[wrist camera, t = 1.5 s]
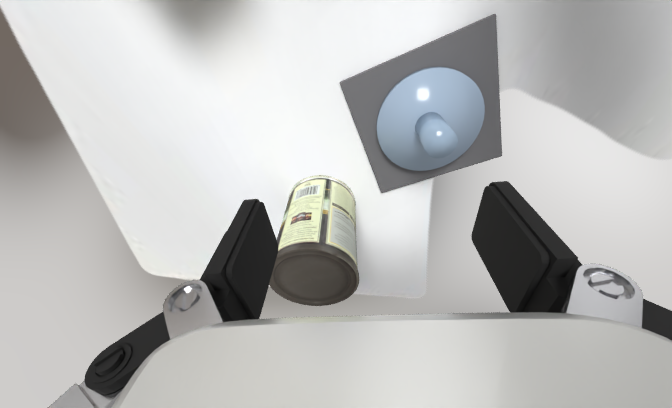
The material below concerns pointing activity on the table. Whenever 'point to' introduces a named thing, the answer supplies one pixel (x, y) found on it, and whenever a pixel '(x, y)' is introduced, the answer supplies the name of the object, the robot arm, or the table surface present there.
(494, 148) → the mat
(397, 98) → the lid
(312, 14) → the table surface
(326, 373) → the robot arm
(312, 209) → the coffee can
